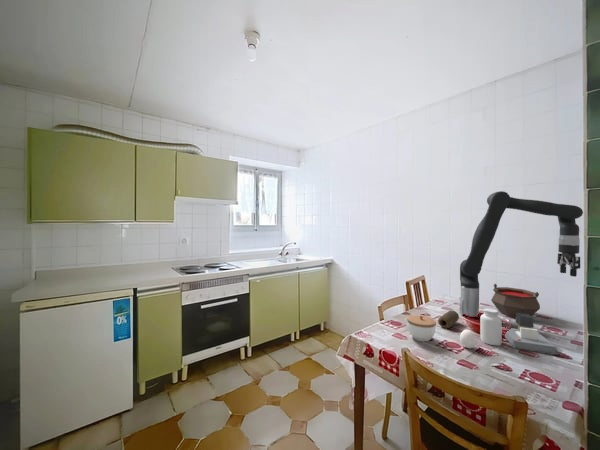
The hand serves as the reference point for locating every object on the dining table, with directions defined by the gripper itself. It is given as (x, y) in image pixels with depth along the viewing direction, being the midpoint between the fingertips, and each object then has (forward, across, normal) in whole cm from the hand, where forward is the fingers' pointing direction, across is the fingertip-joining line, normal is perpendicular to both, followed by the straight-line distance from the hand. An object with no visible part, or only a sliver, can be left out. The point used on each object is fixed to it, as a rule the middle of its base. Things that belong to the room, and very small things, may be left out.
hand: (567, 274), depth 132 cm
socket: (+29, +28, -27) cm, 49 cm away
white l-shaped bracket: (+25, +28, -27) cm, 47 cm away
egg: (+29, +43, -54) cm, 75 cm away
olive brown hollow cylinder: (+29, +18, -57) cm, 67 cm away
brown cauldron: (+29, -15, -17) cm, 37 cm away
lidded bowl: (+29, +41, -73) cm, 88 cm away
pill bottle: (+29, +33, -42) cm, 61 cm away
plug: (+29, +12, -22) cm, 38 cm away
